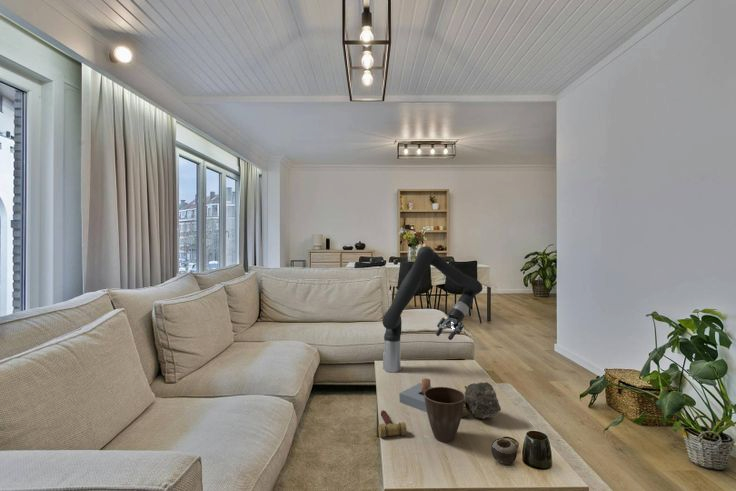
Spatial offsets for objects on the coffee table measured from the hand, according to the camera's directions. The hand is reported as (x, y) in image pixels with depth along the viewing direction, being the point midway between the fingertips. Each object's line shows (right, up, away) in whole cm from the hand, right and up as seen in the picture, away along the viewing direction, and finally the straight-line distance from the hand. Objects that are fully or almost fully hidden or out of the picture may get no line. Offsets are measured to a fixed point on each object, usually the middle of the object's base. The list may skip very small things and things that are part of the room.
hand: (443, 337), depth 185 cm
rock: (+6, -25, -32) cm, 41 cm away
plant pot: (-9, -25, -48) cm, 55 cm away
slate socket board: (-12, -25, -19) cm, 33 cm away
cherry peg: (-12, -25, -19) cm, 33 cm away
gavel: (-30, -26, -39) cm, 55 cm away
